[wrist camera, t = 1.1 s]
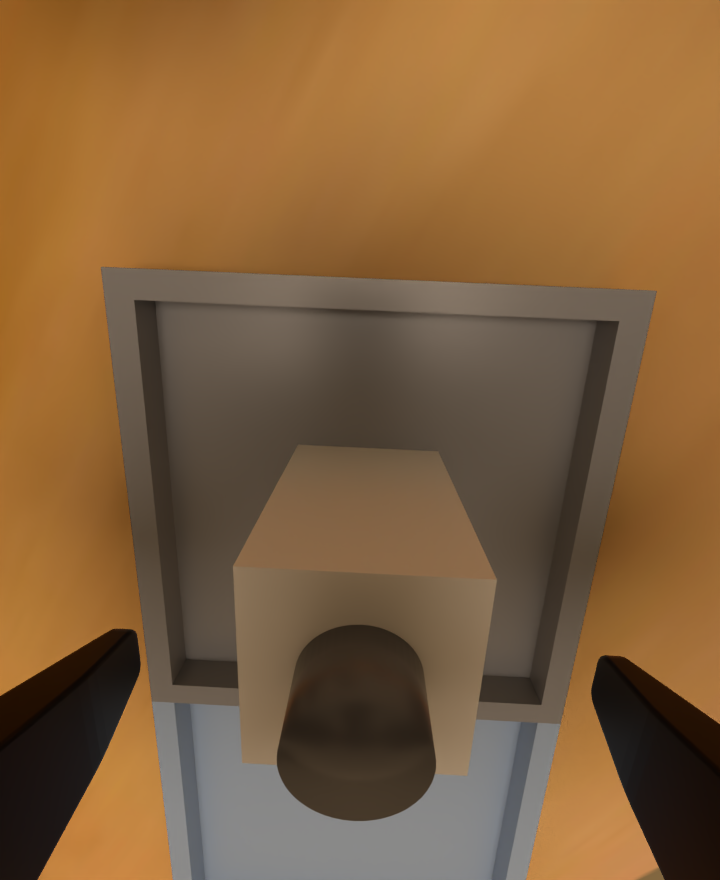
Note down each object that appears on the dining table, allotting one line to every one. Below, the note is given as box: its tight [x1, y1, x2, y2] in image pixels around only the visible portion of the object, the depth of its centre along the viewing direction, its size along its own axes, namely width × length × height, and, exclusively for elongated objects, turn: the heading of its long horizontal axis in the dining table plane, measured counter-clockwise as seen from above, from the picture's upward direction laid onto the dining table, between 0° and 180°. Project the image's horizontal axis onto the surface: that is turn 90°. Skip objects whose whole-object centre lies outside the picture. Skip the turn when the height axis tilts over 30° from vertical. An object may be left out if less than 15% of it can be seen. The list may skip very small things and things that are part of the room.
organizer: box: [101, 267, 657, 880], centre depth 17 cm, size 15×28×2 cm, turn 178°
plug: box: [233, 445, 497, 821], centre depth 11 cm, size 4×4×9 cm
